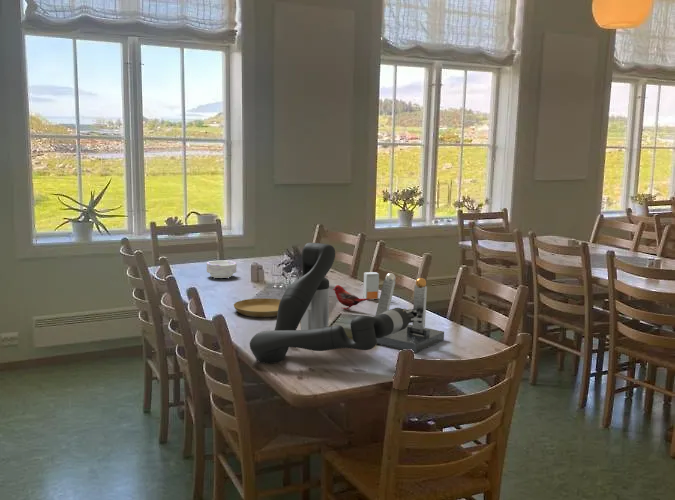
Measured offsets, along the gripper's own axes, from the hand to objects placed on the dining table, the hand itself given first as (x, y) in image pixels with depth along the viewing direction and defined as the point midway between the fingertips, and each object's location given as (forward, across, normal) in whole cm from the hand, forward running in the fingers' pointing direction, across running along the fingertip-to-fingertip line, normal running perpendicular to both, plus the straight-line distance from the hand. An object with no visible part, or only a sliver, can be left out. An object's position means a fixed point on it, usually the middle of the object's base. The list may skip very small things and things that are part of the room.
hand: (418, 310), depth 223 cm
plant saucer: (-3, -71, -12) cm, 72 cm away
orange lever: (+1, 0, -8) cm, 9 cm away
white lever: (0, -16, -9) cm, 18 cm away
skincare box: (+46, -51, -13) cm, 70 cm away
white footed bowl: (+35, -136, -13) cm, 140 cm away
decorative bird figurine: (+23, -45, -12) cm, 52 cm away
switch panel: (0, -8, -12) cm, 14 cm away
